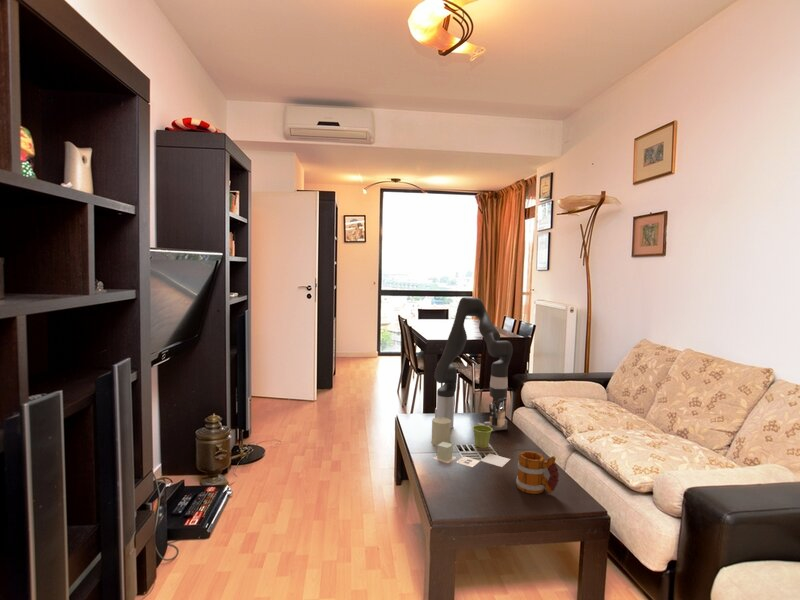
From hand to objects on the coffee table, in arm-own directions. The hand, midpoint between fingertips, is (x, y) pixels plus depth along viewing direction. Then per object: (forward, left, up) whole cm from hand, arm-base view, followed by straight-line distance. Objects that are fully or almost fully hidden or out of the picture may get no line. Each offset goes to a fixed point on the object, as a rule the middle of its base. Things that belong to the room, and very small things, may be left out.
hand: (497, 423), depth 196 cm
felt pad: (0, 0, -17) cm, 17 cm away
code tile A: (-9, -9, -17) cm, 21 cm away
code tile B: (-19, -12, -17) cm, 28 cm away
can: (-29, +2, -17) cm, 34 cm away
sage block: (-19, -12, -17) cm, 28 cm away
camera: (-17, +37, -17) cm, 44 cm away
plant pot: (-12, +12, -17) cm, 24 cm away
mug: (+23, -15, -17) cm, 32 cm away
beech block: (0, 0, 0) cm, 0 cm away
